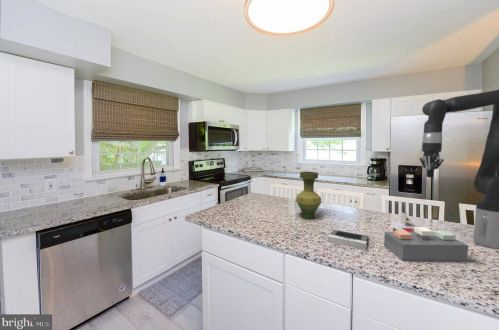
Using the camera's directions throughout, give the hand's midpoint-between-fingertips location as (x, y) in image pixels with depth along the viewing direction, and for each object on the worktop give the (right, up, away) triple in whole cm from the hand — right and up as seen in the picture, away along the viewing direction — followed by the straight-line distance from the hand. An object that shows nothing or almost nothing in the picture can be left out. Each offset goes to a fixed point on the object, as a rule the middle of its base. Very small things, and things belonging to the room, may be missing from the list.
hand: (429, 177), depth 113 cm
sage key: (-3, -29, -12) cm, 32 cm away
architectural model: (+4, -31, +24) cm, 39 cm away
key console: (-12, -33, -11) cm, 37 cm away
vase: (-50, -29, +39) cm, 70 cm away
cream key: (-12, -28, -12) cm, 33 cm away
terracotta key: (-21, -29, -11) cm, 38 cm away
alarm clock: (-39, -33, +4) cm, 51 cm away
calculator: (-5, -32, +5) cm, 33 cm away
